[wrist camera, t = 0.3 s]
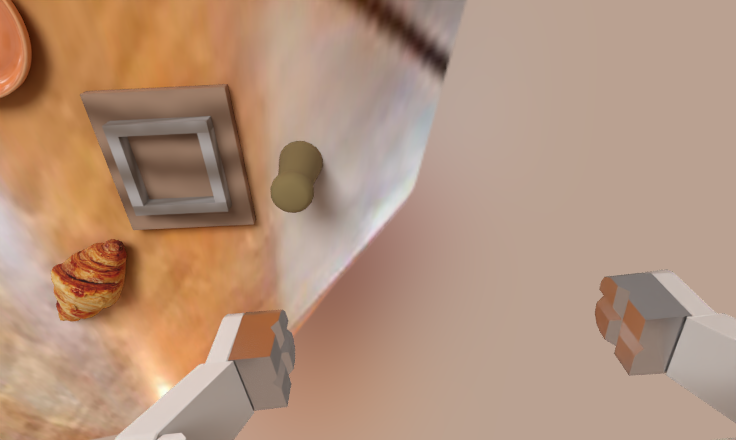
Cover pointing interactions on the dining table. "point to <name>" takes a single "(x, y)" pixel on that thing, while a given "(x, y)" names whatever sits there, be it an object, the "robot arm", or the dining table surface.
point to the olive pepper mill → (296, 176)
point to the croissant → (89, 280)
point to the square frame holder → (173, 155)
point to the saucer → (13, 49)
